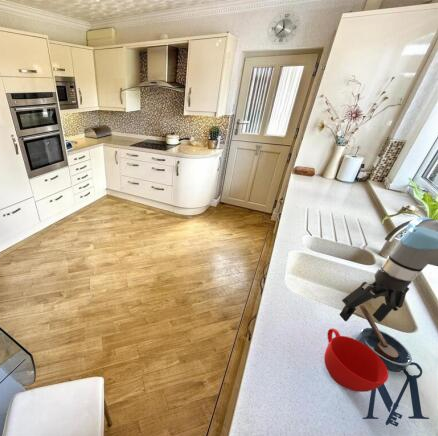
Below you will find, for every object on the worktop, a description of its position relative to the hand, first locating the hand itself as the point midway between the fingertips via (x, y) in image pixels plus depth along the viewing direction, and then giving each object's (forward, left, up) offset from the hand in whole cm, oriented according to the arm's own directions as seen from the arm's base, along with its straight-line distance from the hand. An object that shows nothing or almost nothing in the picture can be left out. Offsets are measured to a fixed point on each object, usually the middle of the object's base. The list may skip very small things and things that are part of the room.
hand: (359, 318), depth 83 cm
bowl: (0, +10, -4) cm, 11 cm away
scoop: (0, +6, -4) cm, 7 cm away
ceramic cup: (+18, +15, -5) cm, 24 cm away
